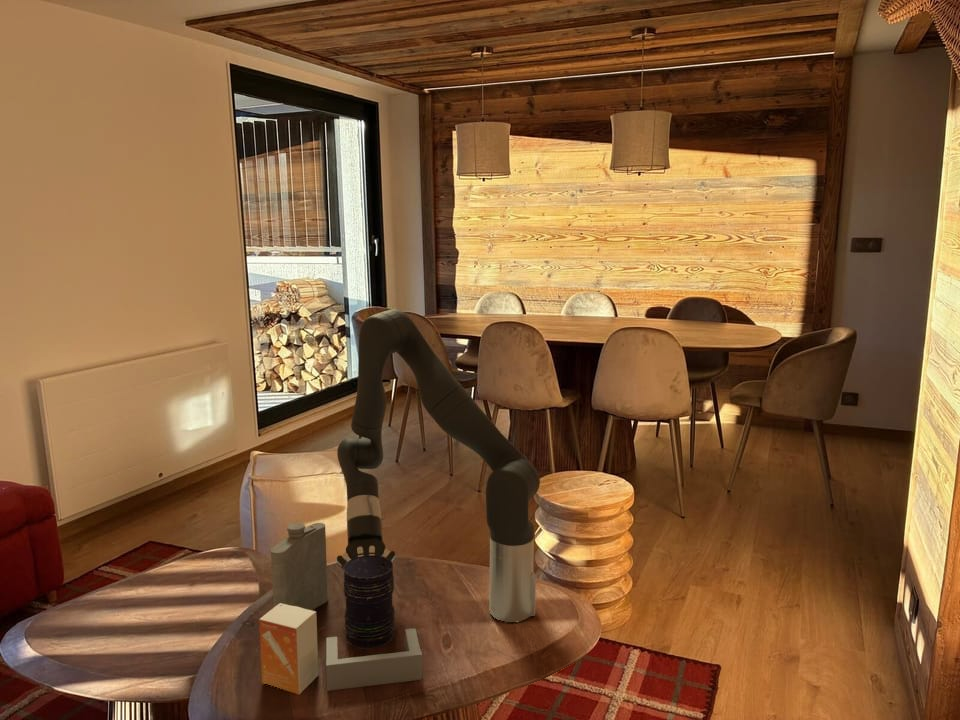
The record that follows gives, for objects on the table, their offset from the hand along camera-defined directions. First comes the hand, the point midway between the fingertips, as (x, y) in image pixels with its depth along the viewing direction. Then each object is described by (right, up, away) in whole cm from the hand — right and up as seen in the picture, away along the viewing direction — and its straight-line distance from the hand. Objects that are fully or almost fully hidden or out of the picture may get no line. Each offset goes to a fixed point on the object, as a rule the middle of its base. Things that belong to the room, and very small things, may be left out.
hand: (368, 598), depth 151 cm
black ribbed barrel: (+1, -6, -4) cm, 8 cm away
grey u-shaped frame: (+3, -8, -15) cm, 17 cm away
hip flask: (-15, -4, +3) cm, 16 cm away
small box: (-11, -9, -19) cm, 24 cm away
